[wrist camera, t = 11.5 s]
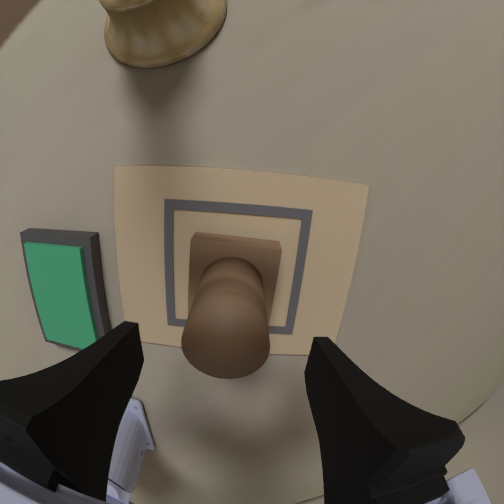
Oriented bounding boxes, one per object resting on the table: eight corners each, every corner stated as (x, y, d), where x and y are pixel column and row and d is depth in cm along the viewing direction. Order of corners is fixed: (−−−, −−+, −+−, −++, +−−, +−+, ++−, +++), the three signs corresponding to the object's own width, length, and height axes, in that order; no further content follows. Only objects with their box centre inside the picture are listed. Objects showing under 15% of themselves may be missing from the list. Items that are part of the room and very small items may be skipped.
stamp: (266, 308, 19) (275, 392, 12) (193, 300, 19) (167, 381, 12) (278, 237, 18) (298, 300, 10) (197, 228, 17) (162, 285, 10)
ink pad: (115, 349, 21) (108, 360, 19) (51, 334, 21) (43, 343, 19) (98, 232, 18) (87, 239, 16) (29, 228, 17) (17, 234, 16)
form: (330, 353, 21) (331, 355, 21) (128, 337, 21) (127, 339, 20) (368, 185, 17) (369, 185, 17) (115, 165, 16) (113, 166, 16)
